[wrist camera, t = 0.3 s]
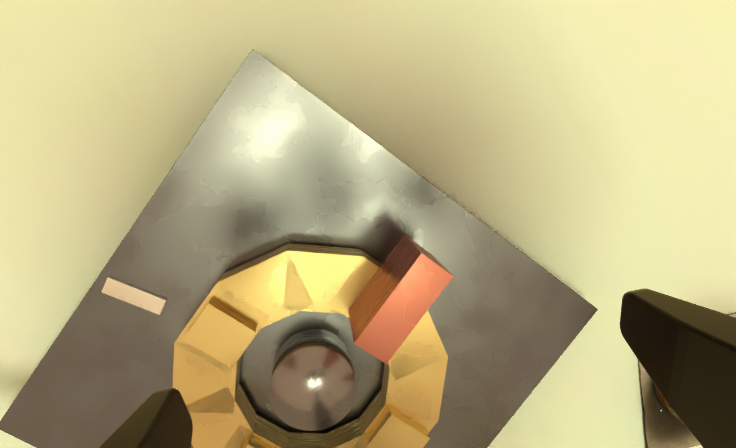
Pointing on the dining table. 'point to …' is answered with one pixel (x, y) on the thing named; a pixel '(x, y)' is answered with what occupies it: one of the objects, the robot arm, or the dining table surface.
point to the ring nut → (330, 295)
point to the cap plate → (302, 329)
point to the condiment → (663, 418)
